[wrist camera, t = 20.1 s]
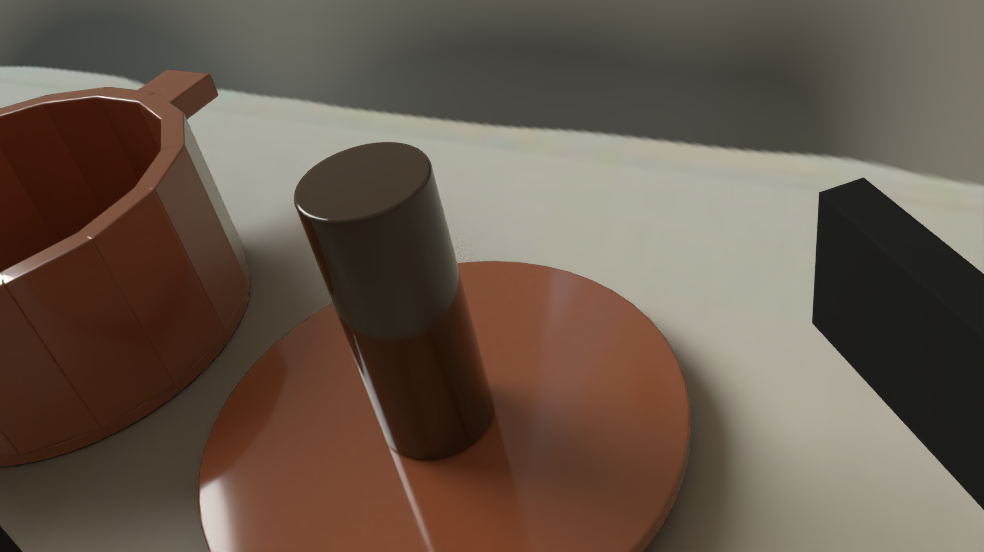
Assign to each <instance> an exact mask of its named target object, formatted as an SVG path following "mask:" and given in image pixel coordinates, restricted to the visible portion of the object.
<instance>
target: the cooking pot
mask: <svg viewBox="0 0 984 552" xmlns="http://www.w3.org/2000/svg"><path fill="white" fill-rule="evenodd" d="M217 96H218V93H217V90H216V88H215V85H214V83H213V81H212V78H211V76H210V74H206V73H197V72H187V71H177V70H166V71H165V72H164V73H162V74H160V75H159V76H157V77H156V78H155V79H153V80H152V81H150V82H149V83H147V84H146V85H144V86H143V87H142V88H140V89H139V90H131V89H122V88H114V87H103V88H95V89H88V90H80V91H72V92H64V93H56V94H50V95H45V96H41V97H38V98H35V99H31V100H28V101H24V102H21V103H17V104H14V105H11V106H7V107H4V108H0V467H3V466H14V465H21V464H26V463H31V462H36V461H41V460H45V459H48V458H52V457H55V456H59V455H62V454H65V453H69V452H71V451H74V450H77V449H79V448H82V447H85V446H87V445H90V444H92V443H95V442H97V441H99V440H101V439H103V438H106V437H108V436H110V435H112V434H114V433H116V432H118V431H120V430H122V429H124V428H126V427H127V426H129V425H131V424H133V423H135V422H136V421H138V420H140V419H142V418H143V417H145V416H147V415H148V414H150V413H151V412H152V411H154V410H155V409H157V408H158V407H160V406H161V405H163V404H164V403H166V402H167V401H169V400H170V399H171V398H172V397H174V396H175V395H176V394H178V393H179V392H180V391H181V390H183V389H184V388H185V387H186V386H188V385H189V384H190V383H191V382H192V381H193V380H194V379H195V378H196V377H197V376H198V375H199V374H200V373H202V372H203V371H204V370H205V369H206V368H207V367H208V365H209V364H210V363H211V362H212V361H213V360H214V359H215V358H216V356H217V355H218V354H219V353H220V352H221V351H222V349H223V348H224V346H225V345H226V344H227V342H228V341H229V339H230V338H231V337H232V335H233V334H234V332H235V330H236V328H237V326H238V325H239V323H240V321H241V319H242V317H243V314H244V311H245V309H246V306H247V303H248V298H249V293H250V272H249V268H248V264H247V261H246V259H245V256H244V248H243V245H242V243H241V241H240V238H239V236H238V234H237V232H236V229H235V227H234V225H233V223H232V220H231V218H230V216H229V214H228V211H227V209H226V207H225V205H224V202H223V200H222V198H221V196H220V193H219V191H218V189H217V187H216V184H215V182H214V180H213V178H212V175H211V173H210V171H209V169H208V166H207V164H206V162H205V160H204V157H203V155H202V153H201V151H200V148H199V146H198V144H197V142H196V139H195V137H194V135H193V133H192V130H191V128H190V126H189V124H188V121H187V119H188V118H190V117H191V116H192V115H194V114H195V113H196V112H198V111H199V110H200V109H201V108H203V107H204V106H205V105H207V104H208V103H209V102H211V101H212V100H213V99H215V98H216V97H217Z"/></svg>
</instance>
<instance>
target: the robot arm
mask: <svg viewBox="0 0 984 552" xmlns="http://www.w3.org/2000/svg"><path fill="white" fill-rule="evenodd" d="M812 323H813V324H814V325H815V327H816V328H817V329H818V330H819V331H820V332H821V333H822V334H823V335H824V336H825V337H826V339H827V340H828V341H829V342H830V343H831V344H832V345H833V346H834V347H835V348H836V349H837V351H838V352H839V353H840V354H841V355H842V356H843V357H844V358H845V359H846V360H847V361H848V363H849V364H850V365H851V366H852V367H853V368H854V369H855V370H856V371H857V372H858V373H859V374H860V376H861V377H862V378H863V379H864V380H865V381H866V382H867V383H868V384H869V385H870V386H871V388H872V389H873V390H874V391H875V392H876V393H877V394H878V395H879V396H880V397H881V398H882V400H883V401H884V402H885V403H886V404H887V405H888V406H889V407H890V408H891V409H892V410H893V412H894V413H895V414H896V415H897V416H898V417H899V418H900V419H901V420H902V421H903V422H904V424H905V425H906V426H907V427H908V428H909V429H910V430H911V431H912V432H913V433H914V434H915V435H916V437H917V438H918V439H919V440H920V441H921V442H922V443H923V444H924V445H925V446H926V447H927V449H928V450H929V451H930V452H931V453H932V454H933V455H934V456H935V457H936V458H937V459H938V461H939V462H940V463H941V464H942V465H943V466H944V467H945V468H946V469H947V470H948V471H949V473H950V474H951V475H952V476H953V477H954V478H955V479H956V480H957V481H958V482H959V483H960V484H961V486H962V487H963V488H964V489H965V490H966V491H967V492H968V493H969V494H970V495H971V496H972V498H973V499H974V500H975V501H976V502H977V503H978V504H979V505H980V506H981V507H982V508H983V510H984V274H983V273H982V272H981V271H979V270H978V269H977V268H976V267H974V266H973V265H972V264H971V263H969V262H968V261H967V260H966V259H964V258H963V257H962V256H961V255H959V254H958V253H957V252H956V251H954V250H953V249H952V248H951V247H949V246H948V245H947V244H946V243H944V242H943V241H942V240H941V239H939V238H938V237H937V236H936V235H934V234H933V233H932V232H931V231H930V230H928V229H927V228H926V227H925V226H923V225H922V224H921V223H920V222H918V221H917V220H916V219H915V218H913V217H912V216H911V215H910V214H908V213H907V212H906V211H905V210H903V209H902V208H901V207H900V206H898V205H897V204H896V203H895V202H893V201H892V200H891V199H890V198H888V197H887V196H886V195H885V194H883V193H882V192H881V191H880V190H878V189H877V188H876V187H875V186H874V185H872V184H871V183H870V182H869V181H867V180H866V179H865V178H861V179H858V180H855V181H852V182H849V183H846V184H843V185H840V186H837V187H834V188H831V189H828V190H825V191H822V192H819V206H818V225H817V243H816V262H815V281H814V299H813V318H812ZM0 552H22V550H21V549H20V548H19V547H18V546H17V545H16V544H15V542H14V541H13V540H12V539H11V538H10V537H9V535H8V534H7V533H6V532H5V531H4V530H3V529H2V527H1V526H0Z"/></svg>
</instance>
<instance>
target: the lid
mask: <svg viewBox="0 0 984 552" xmlns="http://www.w3.org/2000/svg"><path fill="white" fill-rule="evenodd" d="M294 204H295V207H296V209H297V212H298V215H299V217H300V220H301V222H302V225H303V227H304V230H305V233H306V235H307V238H308V240H309V243H310V246H311V248H312V251H313V253H314V256H315V259H316V261H317V264H318V266H319V269H320V271H321V274H322V277H323V279H324V282H325V284H326V287H327V290H328V292H329V295H330V297H331V300H332V304H331V305H329V306H327V307H325V308H323V309H322V310H320V311H318V312H317V313H315V314H314V315H312V316H311V317H309V318H308V319H306V320H305V321H303V322H302V323H300V324H299V325H298V326H296V327H295V328H294V329H292V330H291V331H290V332H289V333H287V334H286V335H285V336H284V337H283V338H281V339H280V340H279V341H278V342H276V343H275V344H274V345H273V346H272V347H271V348H270V349H269V350H268V351H267V352H266V353H265V354H264V355H263V356H262V357H261V358H260V359H259V360H258V361H257V362H256V363H255V364H254V365H253V366H252V368H251V369H250V370H249V371H248V372H247V374H246V375H245V376H244V377H243V378H242V380H241V381H240V382H239V383H238V385H237V386H236V388H235V389H234V391H233V392H232V394H231V395H230V397H229V398H228V400H227V401H226V403H225V404H224V406H223V408H222V410H221V412H220V414H219V416H218V418H217V420H216V422H215V424H214V426H213V428H212V431H211V433H210V436H209V439H208V442H207V445H206V447H205V450H204V454H203V459H202V464H201V469H200V474H199V492H198V505H199V513H200V521H201V528H202V531H203V534H204V537H205V540H206V543H207V546H208V549H209V552H644V550H645V549H646V548H647V546H648V545H649V543H650V542H651V541H652V539H653V538H654V537H655V535H656V534H657V533H658V531H659V530H660V529H661V527H662V525H663V523H664V521H665V520H666V518H667V516H668V514H669V512H670V510H671V508H672V506H673V505H674V503H675V501H676V499H677V496H678V493H679V490H680V487H681V484H682V482H683V479H684V476H685V473H686V469H687V463H688V458H689V452H690V446H691V411H690V402H689V397H688V391H687V385H686V381H685V378H684V375H683V373H682V370H681V367H680V364H679V362H678V359H677V357H676V356H675V354H674V352H673V350H672V349H671V347H670V345H669V343H668V342H667V340H666V338H665V337H664V336H663V335H662V333H661V332H660V331H659V330H658V329H657V327H656V326H655V325H654V324H653V322H652V321H651V320H650V319H649V318H648V317H647V316H646V315H644V314H643V313H642V312H641V311H640V310H639V309H638V308H637V307H636V306H634V305H633V304H632V303H631V302H629V301H628V300H626V299H625V298H623V297H622V296H620V295H619V294H617V293H616V292H614V291H613V290H611V289H609V288H607V287H605V286H603V285H601V284H599V283H597V282H595V281H593V280H590V279H587V278H585V277H582V276H579V275H576V274H574V273H571V272H568V271H564V270H559V269H555V268H551V267H547V266H542V265H535V264H528V263H521V262H503V261H482V262H464V263H457V260H456V256H455V252H454V249H453V245H452V241H451V237H450V233H449V230H448V226H447V222H446V218H445V214H444V211H443V207H442V203H441V199H440V195H439V192H438V188H437V184H436V180H435V176H434V173H433V169H432V165H431V162H430V160H429V158H428V157H427V156H426V155H425V154H424V153H423V152H422V151H421V150H419V149H418V148H415V147H413V146H410V145H407V144H402V143H394V142H381V143H371V144H365V145H361V146H357V147H353V148H350V149H347V150H344V151H341V152H339V153H336V154H334V155H332V156H330V157H328V158H326V159H325V160H323V161H321V162H320V163H318V164H317V165H315V166H314V167H313V168H312V169H310V170H309V171H308V172H307V173H306V174H305V175H304V176H303V177H302V179H301V180H300V181H299V183H298V185H297V187H296V190H295V194H294Z"/></svg>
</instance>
